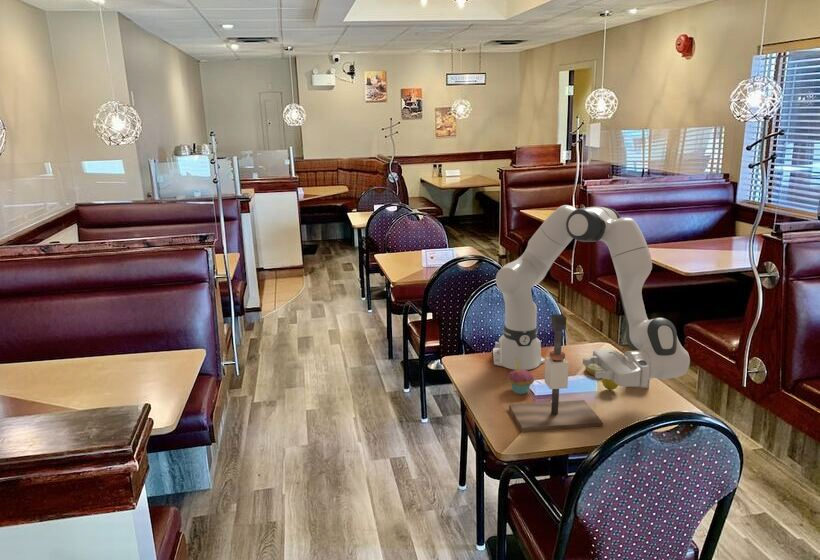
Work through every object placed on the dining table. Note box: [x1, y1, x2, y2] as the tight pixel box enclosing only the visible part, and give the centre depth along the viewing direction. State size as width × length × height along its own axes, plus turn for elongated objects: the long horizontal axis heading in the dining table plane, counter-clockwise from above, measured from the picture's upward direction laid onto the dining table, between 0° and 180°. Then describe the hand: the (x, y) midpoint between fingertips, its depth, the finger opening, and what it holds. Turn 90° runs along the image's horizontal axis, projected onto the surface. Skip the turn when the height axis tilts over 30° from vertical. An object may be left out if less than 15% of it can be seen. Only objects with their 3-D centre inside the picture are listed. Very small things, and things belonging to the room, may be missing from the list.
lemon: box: [601, 378, 619, 392], centre depth 207 cm, size 6×6×8 cm
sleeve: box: [544, 356, 570, 390], centre depth 186 cm, size 5×5×8 cm
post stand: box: [508, 313, 604, 433], centre depth 186 cm, size 15×24×32 cm, turn 96°
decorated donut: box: [584, 364, 604, 377], centre depth 222 cm, size 10×11×4 cm
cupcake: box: [507, 358, 535, 395], centre depth 207 cm, size 9×8×12 cm
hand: (589, 368), depth 187 cm, fingers open, 8 cm apart
